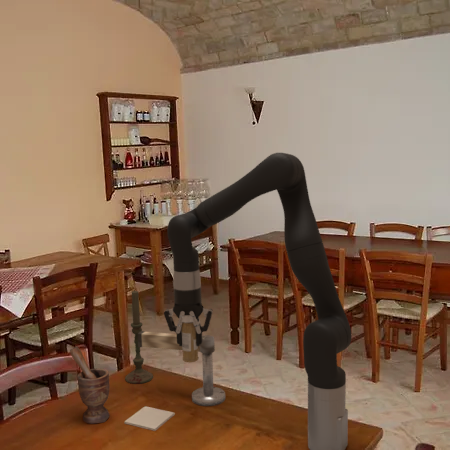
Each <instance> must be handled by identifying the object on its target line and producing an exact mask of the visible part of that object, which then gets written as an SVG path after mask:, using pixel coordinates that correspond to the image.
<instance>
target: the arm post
mask: <svg viewBox="0 0 450 450" xmlns="http://www.w3.org/2000/svg"><path fill="white" fill-rule="evenodd" d="M201 356H202V357H201V358H202V361H201V362H202V384H203V385H202V387H199V388H197V389H195V390H193V392H192V393H191V401H192V403H194V404H195V405H198V406H200V407H213V406H218V405H220V404H223V403H224V402H225V400H226V392H225V390H223V389H222V388H221V387H216V386H214V364H213V362H214V361H213V360H214V359H213V353H207V354H206V353H201Z"/></svg>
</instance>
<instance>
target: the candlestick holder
mask: <svg viewBox="0 0 450 450" xmlns="http://www.w3.org/2000/svg"><path fill="white" fill-rule="evenodd" d="M139 296H140V293H139V291H138V290H135V289H133V290H132V291H131V306H132V309H131V310H132V323H131V322H130V327H131V332H132V334H133V335H134V337H133V338H134V340H133V341H134V342H133V343H134V346H135V347H134V349H135V357H134V358H133V360H132V362H133V365H134V366H135V369H134V370H132V371H131V372H129V373H128V374H127V375H126V376H125V378H124V380H125V382H127V383H128V384H134V385H141V384H146V383H149V382H150V381H151V380H153V379H154V374H153V373H152V372H151V371H148V370H146V369H144V368H143V367H142V366H143V364H144V360H145V359H144V358H143V357H142V356H141V347H138V333H139V332H141V331H143V329H142V326H143V322H141V320H140V319H141V318H140V300H139Z"/></svg>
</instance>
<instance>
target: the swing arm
mask: <svg viewBox="0 0 450 450" xmlns="http://www.w3.org/2000/svg"><path fill="white" fill-rule="evenodd" d="M202 340H203V341H202V343H201V344H200V346H198V353H199V352H200V354H202V353H206V354H207V353H212V354H213V353H214V352H215V350H216V347H215V346H216V345H215V337H214V336H213V335H206V334H205V335H202ZM138 347H140V348H150V349H151V348H153V349H164V350H173V351H174V350H175V351H176V350H177V351H183V349H182V346H179V344H177V334H176V333H167V332H166V333H165V332H156V331H155V332H154V331H144V330H142V331H141V332H139V333H138Z"/></svg>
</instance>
